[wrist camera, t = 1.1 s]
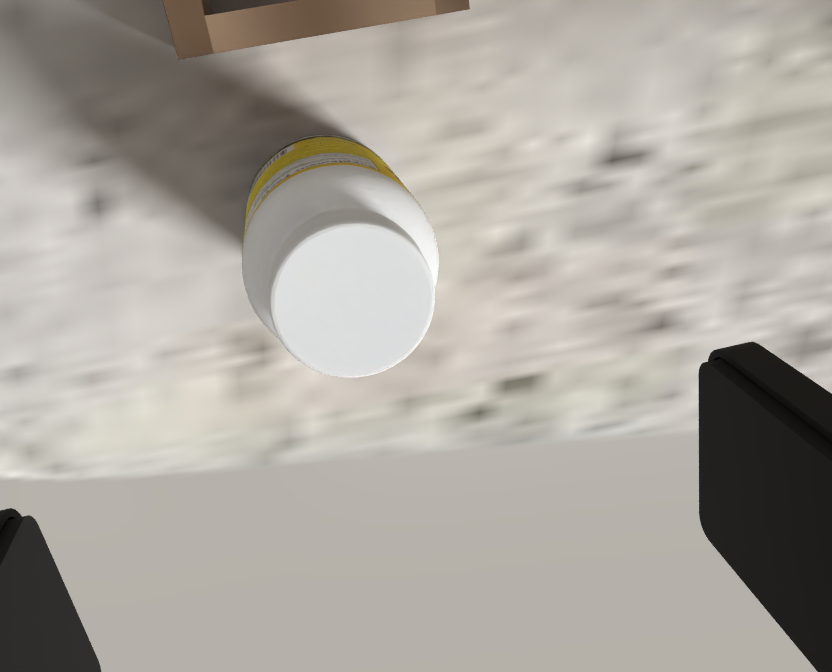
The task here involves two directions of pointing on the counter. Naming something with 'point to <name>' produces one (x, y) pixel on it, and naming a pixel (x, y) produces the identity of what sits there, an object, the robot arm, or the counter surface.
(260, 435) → the counter surface
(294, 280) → the supplement bottle
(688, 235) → the counter surface
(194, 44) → the box
